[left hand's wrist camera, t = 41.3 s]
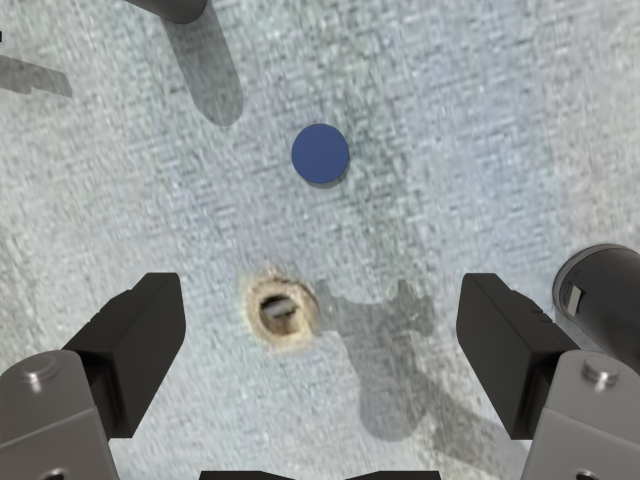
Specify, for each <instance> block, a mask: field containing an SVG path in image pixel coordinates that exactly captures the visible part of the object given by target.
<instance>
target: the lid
mask: <svg viewBox="0 0 640 480" xmlns="http://www.w3.org/2000/svg"><path fill="white" fill-rule="evenodd" d="M348 158H349V151H348V146H347V143H346V141H345V139H344V137H343V135H342V134H341V133H340V132H339V131H338V130H337V129H336V128H334V127H332V126H330V125H327V124H314V125H310V126H308V127H306V128H305V129H303V130H302V131H301V132H300V133H299V135H298V136H297V138H296V140H295V142H294V144H293V147H292V162H293V165H294V167H295V169H296V171H297V172H298V173H299V174H300V175H301V176H302V177H303V178H304V179H306V180H308V181H310V182H314V183H327V182H330V181H332V180H334V179H336V178H337V177H339V176H340V175H341V174H342V172H343V171H344V170H345V168H346V166H347V163H348Z"/></svg>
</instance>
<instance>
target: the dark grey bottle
mask: <svg viewBox="0 0 640 480" xmlns="http://www.w3.org/2000/svg"><path fill="white" fill-rule="evenodd" d="M125 1H127V2H129V3H131V4H134V5H136V6H138V7H140V8H143V9H145V10H147V11H149V12H151V13H154V14H156V15H158V16H160V17H163V18H165V19H167V20H169V21H172V22H174V23H179V24H185V23H190V22H192V21H194V20H196V19H197V18H198V17H199V16H200V15H201V14H202V12H203V10H204V8H205V5H206V1H207V0H125Z"/></svg>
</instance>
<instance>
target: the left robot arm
mask: <svg viewBox="0 0 640 480" xmlns="http://www.w3.org/2000/svg"><path fill="white" fill-rule="evenodd" d="M553 296H554V301H555V304H556V306H557V308H558V309H559V310H560V312H561V313H562V314H563V315H565V316H566V317H567V318H568V319H569V320H570V321H572V322H574V323H575V324H576V325H577V326H578V327H579V328H580V329H581V330H582V331H583V332H584V333H585V334H586V335H587V336H588V337H589V338H591V339H592V340H593V341H594V342H595V343H596V344H597V345H598V346H599V347H600V348H601V349H602V350H603V351H605V352H606V353H607V354H608V355H609V356H607V355H604V354H601V353H597V352H593V351H587V350H582V349H581V348H580V347H579V346H578V345H577V344H576V343H575V342H574V341H573V340H572V339H571V338H570V337H569V336H568V335H567V334H566V333H565V332H564V331H563V330H562V329H561V328H560V327H559V326H558V325H557V324H556V323H553V322H552V321H553V320H552V319H551V318H550V317H549V316H548V315H547V314H546V313H543V310H542V309H541V308H540V307H539V306H538V305H537V304H536V303H535V302H534V301H533V300H531V299H529V298H528V297H526V296H524V295H522V294H520V293H519V292H517V291H515V290H510V289H509V287H508V286H507V285H506V284H505V283H504V282H503V281H502V280H501V279H500V278H499V277H498V276H497V275H496V274H495V273H466V274H465V275H464V277H463V280H462V286H461V293H460V300H459V307H458V314H457V321H456V332H457V338H458V342H459V344H460V346H461V348H462V350H463V352H464V353H465V355H466V357H467V359H468V361H469V363H470V365H471V366H472V368H473V370H474V372H475V374H476V376H477V377H478V379H479V381H480V383H481V385H482V387H483V388H484V390H485V392H486V394H487V396H488V398H489V399H490V401H491V403H492V405H493V407H494V409H495V411H496V412H497V414H498V416H499V418H500V420H501V422H502V423H503V425H504V427H505V429H506V431H507V433H508V434H509V436H510V438H511V440H533V441H532V444H531V448H530V451H529V454H528V457H527V460H526V464H525V467H524V470H523V473H522V477H521V480H640V255H639V254H638V253H637V252H635V251H633V250H631V249H629V248H627V247H625V246H622V245H617V244H601V245H596V246H593V247H590V248H587V249H585V250H583V251H581V252H579V253H578V254H576V255H575V256H574V257H572V258H571V259H570V260H569V261H568V262H567V263H566V264H565V265H564V266H563V268H562V269H561V270H560V272H559V274H558V276H557V278H556V280H555V283H554V289H553ZM185 332H186V320H185V313H184V306H183V299H182V292H181V285H180V279H179V276H178V275H177V273H147V274H146V275H145V276H144V277H143V278H142V279H141V280H140V281H139V282H138V283H137V284H136V285H135V286H134V287H133V288H132V290H126V291H124V292H123V293H121V294H119V295H117V296H115V297H114V298H112V299H110V300H109V301H108V302H107V303H106V304H105V305H104V306H103V307H102V308H101V309H100V312H99V313H96V314H95V315H94V316H93V317H92V319H91V321H90V322H88V323H87V324H86V325H85V326H84V327H83V328H82V329H81V330H80V331H79V332H78V333H77V334H76V335H75V336H74V337H73V338H72V339H71V340H70V341H69V342H68V343H67V344H66V345H65V346H64V347H63V348H62V349H61V350H53V351H47V352H43V353H39V354H36V355H33V356H30V357H28V358H26V359H24V360H22V361H20V362H18V363H16V364H15V365H13V366H11V367H10V368H9V369H7V370H6V371H5V372H4V373H3V374H2V375H1V376H0V480H119V477H118V473H117V470H116V467H115V464H114V460H113V457H112V454H111V451H110V448H109V444H108V442H109V440H110V439H111V438H132V437H133V435H134V433H135V431H136V429H137V428H138V426H139V424H140V422H141V420H142V418H143V416H144V414H145V413H146V411H147V409H148V407H149V405H150V403H151V401H152V400H153V398H154V396H155V394H156V392H157V390H158V388H159V387H160V385H161V383H162V381H163V379H164V377H165V375H166V374H167V372H168V370H169V368H170V366H171V364H172V362H173V360H174V359H175V357H176V355H177V353H178V351H179V349H180V347H181V346H182V344H183V341H184V338H185ZM199 480H294V479H290V478H286V477H283V476H279V475H275V474H271V473H267V472H263V471H201V474H200V477H199ZM346 480H441V477H440V474H439V471H377V472H373V473H369V474H365V475H361V476H357V477H354V478H350V479H346Z"/></svg>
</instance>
